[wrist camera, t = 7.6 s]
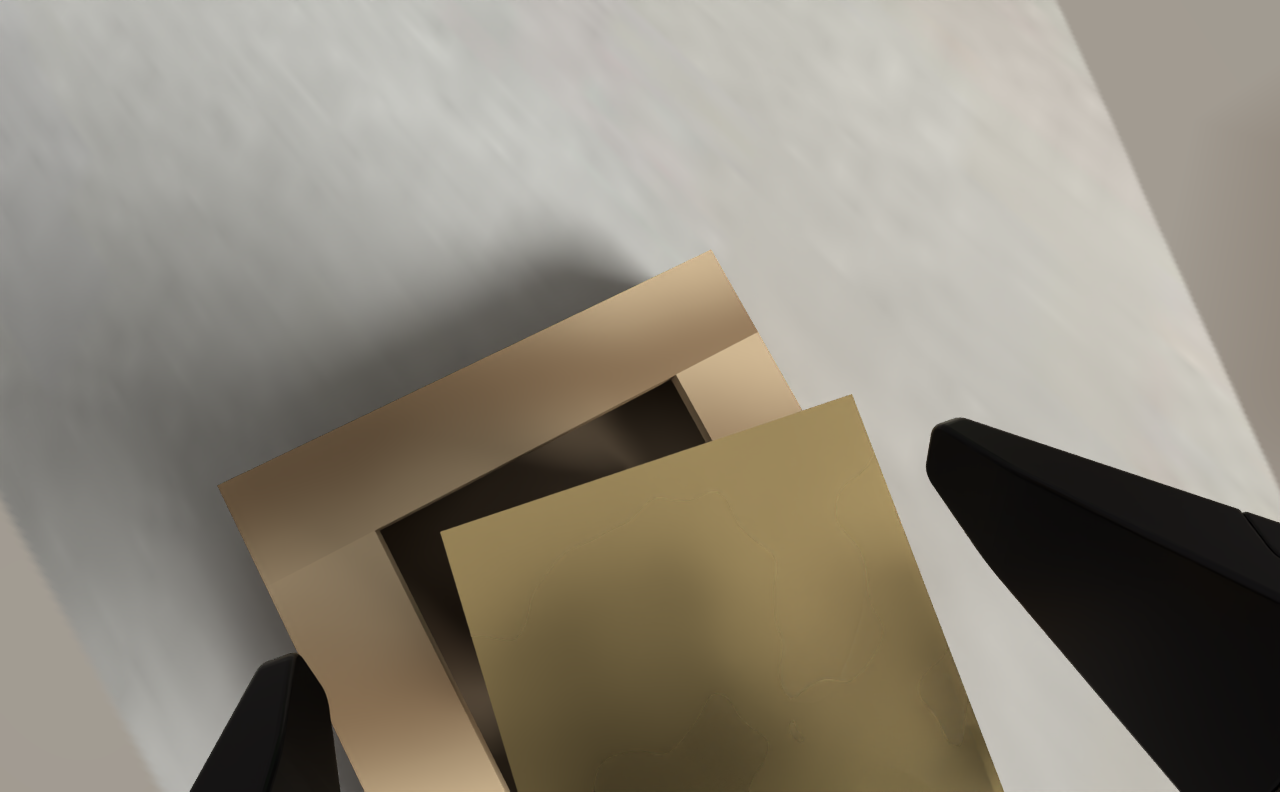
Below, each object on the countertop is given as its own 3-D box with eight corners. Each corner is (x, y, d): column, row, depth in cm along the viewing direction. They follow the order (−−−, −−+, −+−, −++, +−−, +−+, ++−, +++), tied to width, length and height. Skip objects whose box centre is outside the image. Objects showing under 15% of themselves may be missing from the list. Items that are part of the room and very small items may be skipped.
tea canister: (704, 638, 20) (1012, 814, 8) (543, 702, 19) (588, 1028, 7) (650, 478, 21) (851, 394, 8) (491, 532, 20) (439, 532, 7)
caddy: (886, 670, 22) (967, 700, 18) (493, 938, 19) (486, 1045, 15) (678, 298, 23) (711, 249, 19) (276, 495, 20) (217, 485, 16)
